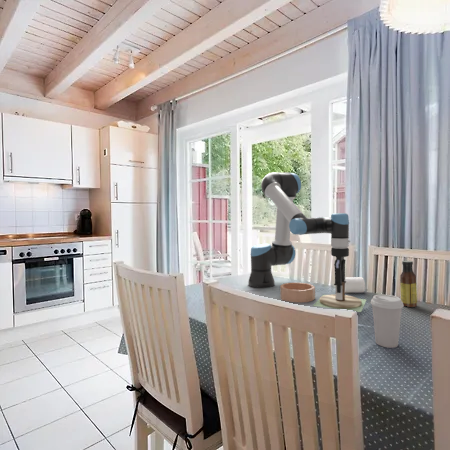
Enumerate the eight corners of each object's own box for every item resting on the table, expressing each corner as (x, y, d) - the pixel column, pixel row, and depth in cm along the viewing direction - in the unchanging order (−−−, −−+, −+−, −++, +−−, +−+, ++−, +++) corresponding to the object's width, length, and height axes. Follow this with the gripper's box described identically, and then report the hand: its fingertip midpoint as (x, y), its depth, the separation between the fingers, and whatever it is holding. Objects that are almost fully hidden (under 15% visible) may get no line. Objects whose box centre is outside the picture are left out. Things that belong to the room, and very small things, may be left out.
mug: (365, 294, 159) (365, 279, 159) (345, 295, 160) (345, 279, 159) (356, 288, 171) (356, 274, 171) (337, 289, 172) (337, 274, 171)
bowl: (287, 292, 166) (287, 281, 166) (318, 296, 158) (318, 284, 158) (276, 300, 153) (275, 288, 152) (309, 305, 144) (309, 292, 144)
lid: (324, 295, 158) (324, 276, 157) (363, 299, 149) (363, 280, 148) (315, 305, 142) (315, 284, 142) (358, 310, 133) (358, 289, 133)
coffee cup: (364, 338, 107) (364, 294, 106) (391, 336, 108) (391, 293, 107) (381, 350, 98) (381, 302, 97) (410, 348, 99) (410, 301, 98)
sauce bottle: (415, 304, 142) (415, 260, 141) (418, 308, 136) (419, 262, 135) (398, 303, 144) (399, 259, 143) (401, 307, 139) (401, 262, 137)
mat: (323, 295, 159) (323, 294, 159) (366, 300, 149) (366, 299, 149) (312, 307, 142) (312, 305, 142) (361, 313, 132) (361, 312, 132)
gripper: (345, 250, 135) (345, 304, 136) (351, 245, 149) (351, 294, 151) (327, 249, 139) (327, 302, 140) (335, 244, 153) (335, 292, 155)
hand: (340, 298), depth 145 cm, fingers closed on lid, 4 cm apart
